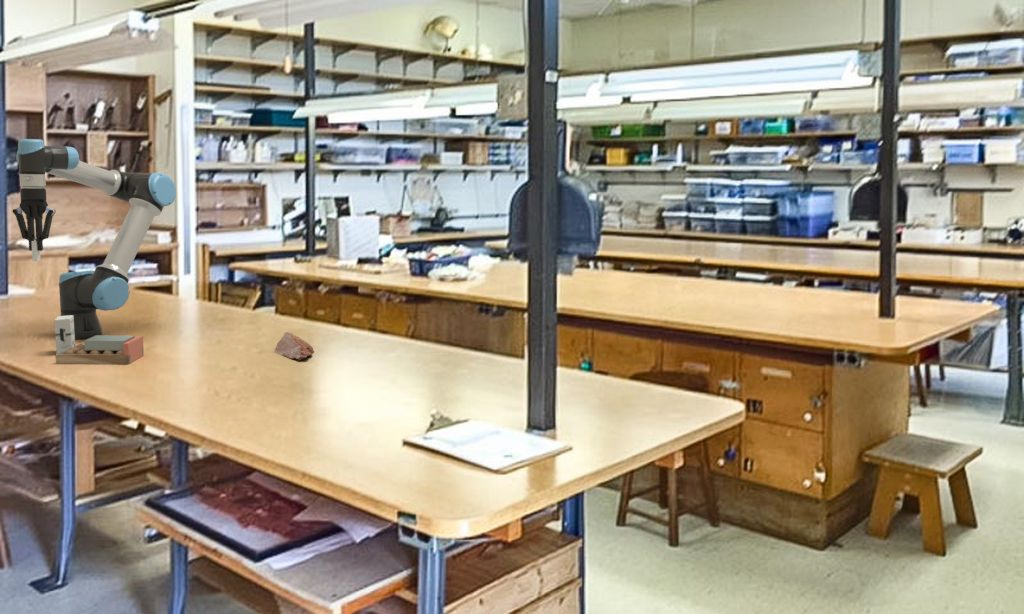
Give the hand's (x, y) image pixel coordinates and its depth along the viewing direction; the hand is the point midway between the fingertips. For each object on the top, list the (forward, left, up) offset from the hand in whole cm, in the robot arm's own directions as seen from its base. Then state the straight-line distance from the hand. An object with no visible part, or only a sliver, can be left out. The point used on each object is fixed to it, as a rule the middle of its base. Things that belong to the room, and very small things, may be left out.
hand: (36, 260), depth 324 cm
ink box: (+5, +10, -30) cm, 32 cm away
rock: (+6, +86, -30) cm, 91 cm away
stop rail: (+16, +35, -29) cm, 49 cm away
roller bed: (+16, +25, -29) cm, 42 cm away
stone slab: (+16, +28, -26) cm, 41 cm away
